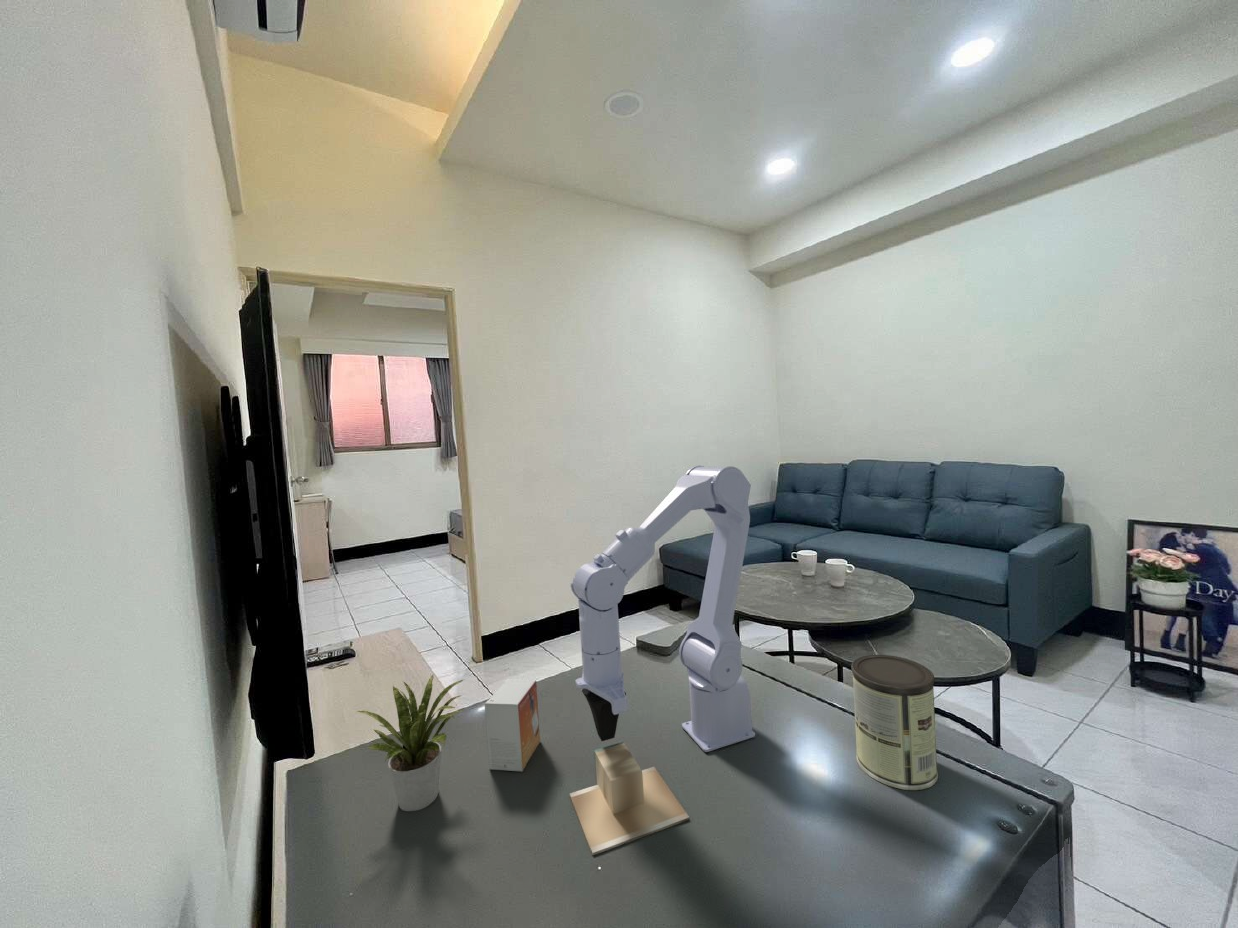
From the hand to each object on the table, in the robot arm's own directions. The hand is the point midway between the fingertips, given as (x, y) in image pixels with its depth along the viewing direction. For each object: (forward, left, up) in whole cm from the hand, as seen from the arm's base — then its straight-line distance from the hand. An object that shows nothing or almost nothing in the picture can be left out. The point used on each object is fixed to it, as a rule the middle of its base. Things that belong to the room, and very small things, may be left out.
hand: (606, 737), depth 71 cm
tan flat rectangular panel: (0, +7, -6) cm, 9 cm away
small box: (+12, -11, -6) cm, 17 cm away
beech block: (0, +1, -3) cm, 3 cm away
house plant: (+25, -7, -6) cm, 27 cm away
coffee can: (-38, +16, -6) cm, 42 cm away
